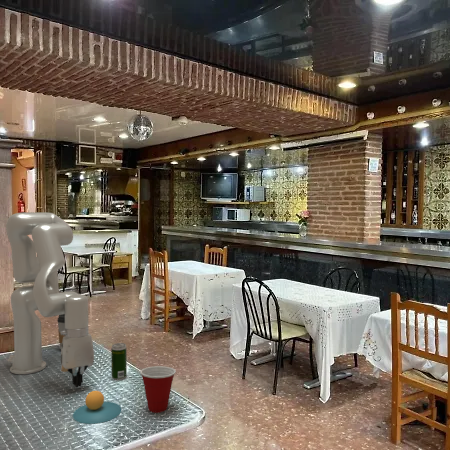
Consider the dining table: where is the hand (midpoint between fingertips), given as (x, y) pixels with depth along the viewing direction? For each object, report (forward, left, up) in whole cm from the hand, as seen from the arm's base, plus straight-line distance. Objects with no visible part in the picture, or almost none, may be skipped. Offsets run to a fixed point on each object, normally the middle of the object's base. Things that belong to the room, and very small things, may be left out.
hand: (77, 385), depth 146 cm
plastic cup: (+32, -5, -2) cm, 32 cm away
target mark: (+16, -12, -2) cm, 20 cm away
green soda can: (+8, +13, -2) cm, 16 cm away
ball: (+14, -11, +1) cm, 17 cm away
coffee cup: (-30, +35, -2) cm, 46 cm away
